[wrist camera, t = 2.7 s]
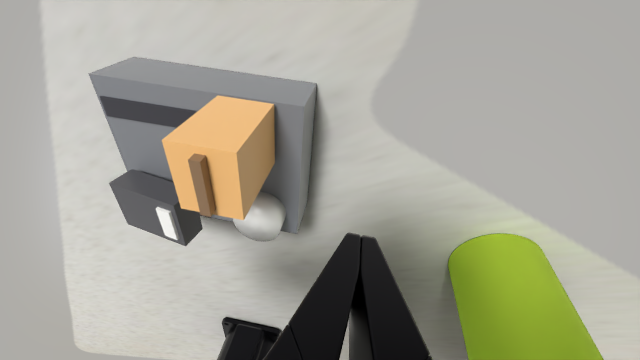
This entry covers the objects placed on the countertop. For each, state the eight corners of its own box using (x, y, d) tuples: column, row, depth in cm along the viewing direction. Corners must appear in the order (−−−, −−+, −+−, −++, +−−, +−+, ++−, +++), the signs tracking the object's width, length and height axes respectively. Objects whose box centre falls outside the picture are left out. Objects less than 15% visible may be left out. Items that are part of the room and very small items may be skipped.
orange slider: (274, 162, 14) (239, 227, 11) (225, 154, 14) (175, 215, 11) (274, 104, 12) (231, 159, 9) (217, 95, 12) (153, 146, 9)
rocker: (202, 228, 17) (183, 248, 16) (147, 208, 18) (125, 225, 16) (193, 189, 15) (171, 207, 14) (131, 168, 16) (106, 184, 15)
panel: (307, 201, 19) (292, 249, 16) (168, 176, 20) (126, 217, 17) (316, 83, 15) (297, 118, 11) (133, 56, 15) (65, 82, 12)
